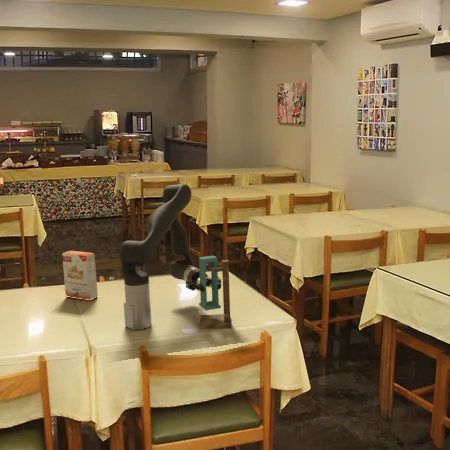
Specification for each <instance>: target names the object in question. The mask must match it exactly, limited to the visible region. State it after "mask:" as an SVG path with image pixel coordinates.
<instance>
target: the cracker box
mask: <svg viewBox="0 0 450 450" xmlns="http://www.w3.org/2000/svg"><path fill="white" fill-rule="evenodd" d="M61 256H62V257H61V258H62V267H63V280H64V289H65V290H64V291H65V292H64V293H65V296H66V295H67V296H70V297H76V298H82V299H89V300H90V299H92V298H95V297H97V296H98V284H97V283H98V281H97V270H96V258H95V257H96V256H95V253H94V252H89V251H88V252H86V251H78V250H77V251H76V250H68V251H65V252H62V254H61ZM98 297H99V296H98Z"/></svg>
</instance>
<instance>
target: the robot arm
mask: <svg viewBox="0 0 450 450" xmlns="http://www.w3.org/2000/svg"><path fill="white" fill-rule="evenodd" d="M162 193H163V194H162V195H163V196H162V197H163V202H164V203H163V204H161V205H159V206H158V207H157V208H155V209H154V210H153V212H151V214H150V215H149V216H148V218H147V219H146V221H145V230H146V234H147V237H146V238H145V239H144V240H125V241H124V242H122V244H121V247H120V253H119V255H120V257H119V258H120V264H121V272H122V279H123V282H124V295H125V302H123V311H124V313H123V315H124V326H127V327H128V328H127V327H126V328H127V329H129V328H130V330H131V329H132V331H136V330H135V329H140V330H145V329H144V328H146V329H148V327H149V328H150V327H152V311H151V310H152V309H151V294H150V293H151V290H150V277H149V274H148V273H147V272H145V271H143V270H141V269H139V268H138V267H137V266H142V267H143V266H146V265H148V264H149V263H150V262H151V261H152V258H153V256H154V254H155V252H156V250H157V248H158V246H159V245H160V243H161V241H162V240H163V238H164V236H165V235H166V234H167V233H168V231H170V239H171V250H172V251H171V252H172V254H173V255H175V256H180V257H182V260H173V261H172V262H171V263H170V264H169V266H168V272H169V273H170V276H172V277H173V278H174V279H176V280H183V281H185V288H186V289H188V290H191V291H192V292H193V291H195V290H196V291H199V292H200V291H201V292H204V286H202V285H201V284H200V272H199V267H196V266H195V265H194V262H193V260H192V257H191V254H190V251H189V250H190V249H189V239H188V234H187V231H186V229H185V226H183V224H182V223H181V221H180V219H179V218H178V216H179V215H180V214H181V212H182V211H183V210H184V209H185V208H186V207H187V206H188V205H189V203H190V202H191V198H192V188H191V187H190V186H189V185H188V184H184V183H178V184H170V185H167V186H165V187H164V188H163V192H162ZM206 288H211V289H212V280H211V277H210V276H209V275H208V274H207V273H206ZM221 288H222V279H221V278H220V277H219V276H218V291H219V290H221Z"/></svg>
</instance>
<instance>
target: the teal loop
mask: <svg viewBox="0 0 450 450" xmlns="http://www.w3.org/2000/svg"><path fill="white" fill-rule="evenodd" d="M205 263H207V264H209V263H210V266H212V267H214V268H218V257H217V256H215V255H206V256H200V257H198V269H199V272H200V284H201V285H202V286H204V292H201V291H199V292H200V302H198V303H199V304H198V306H200V308H202V309H204V310H205V311H206V312H207V311H212V310H217V309H221V308H222V307H221V304H220V302H219V300H220V299H219V297H220V296H219V290H218V277H219V274H218V273H219V272H212V271H210V275H211V277H210V278H211V280H212V288H211V298H212V299H211V300H209V301H208V292H207V287H206V274H207V268H206V265H205Z"/></svg>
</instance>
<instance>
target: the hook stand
mask: <svg viewBox="0 0 450 450" xmlns="http://www.w3.org/2000/svg"><path fill="white" fill-rule="evenodd" d="M205 265H206V270H209V272H211V271H212V272H218V273H220V272H222V276H221V277H222V300H223V301H222V302H223V303H222V304H223V313H222V314H221V313H218V314H216V313H215V314H201V315H200V319H199V320H200V323H199V329H200V330H206V329H207V330H208V329H232V320H231V300H230V298H231V297H230V294H231V293H230V275H229V274H230V267H229V259H222V260H221V266H220V267H217V268H214V267H212V266H211V264H209V263H205Z"/></svg>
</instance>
